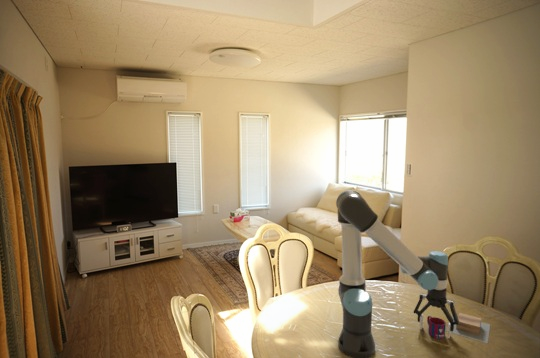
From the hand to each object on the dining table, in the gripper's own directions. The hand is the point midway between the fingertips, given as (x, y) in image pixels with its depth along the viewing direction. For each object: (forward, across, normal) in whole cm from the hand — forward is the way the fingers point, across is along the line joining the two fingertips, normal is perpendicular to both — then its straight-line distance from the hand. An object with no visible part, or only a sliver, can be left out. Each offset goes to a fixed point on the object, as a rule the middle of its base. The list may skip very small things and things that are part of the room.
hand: (434, 332), depth 154 cm
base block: (0, -12, -13) cm, 18 cm away
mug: (0, 0, 0) cm, 0 cm away
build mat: (0, -12, -13) cm, 18 cm away
